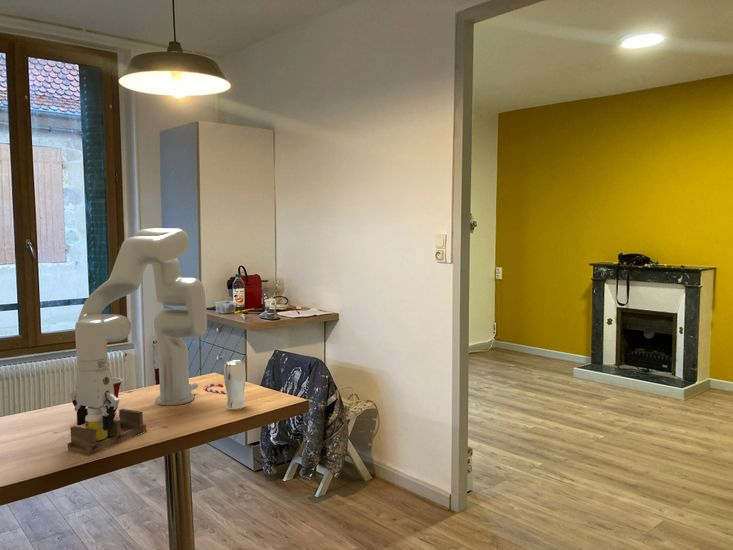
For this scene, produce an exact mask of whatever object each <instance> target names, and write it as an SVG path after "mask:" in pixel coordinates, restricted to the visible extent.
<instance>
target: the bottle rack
mask: <svg viewBox="0 0 733 550" xmlns="http://www.w3.org/2000/svg"><path fill="white" fill-rule="evenodd" d="M143 413H144V412H143V411H140V410H135V409H134V410H132V409H127V408H120V409H118V414H119V415H118V416H119V418H118V419H114V427H113V428H111V429H108V430H107V433H108V439H106V440H103V441H101V442H99V443H96V430H92V429H87V428H85V427H81V426H78V425H77V426H75V425H73V426H70V429H69V430H70V442H67V443H66V444H67V446H66V447H67V453H73V454H77V453H78V455H82V456H87V455H88V456H87V457H90V456H93V455H94V454H97V453H100V452H102V451H104V450H107V449H108V448H111V447H113V446H117V445H118V444H121V443H123V442H126V441H128V440H129V438H130V439H132V438H135V437H136V435H137V436H139V435H142V434H144V433H146V432H147V423H144V418H143V417H144V416H143V415H144V414H143ZM143 432H144V433H143ZM141 433H142V434H141ZM138 434H139V435H138ZM134 436H135V437H134ZM131 437H132V438H131ZM127 439H128V440H127ZM122 441H123V442H122ZM106 448H107V449H106Z"/></svg>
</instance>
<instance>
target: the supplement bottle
mask: <svg viewBox="0 0 733 550" xmlns="http://www.w3.org/2000/svg"><path fill="white" fill-rule="evenodd" d="M86 408H87V412H88V415H87V416H86V417H85V424H84V426H85V427H84V428H87V429H92V430H96V443H99V442H101V441H103V440H106V439H108V433H107V430H106V431H105V430H103V418H102V417H103V416H104V414H103V412H102V410H101V409H100V408H93V407H86Z"/></svg>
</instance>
